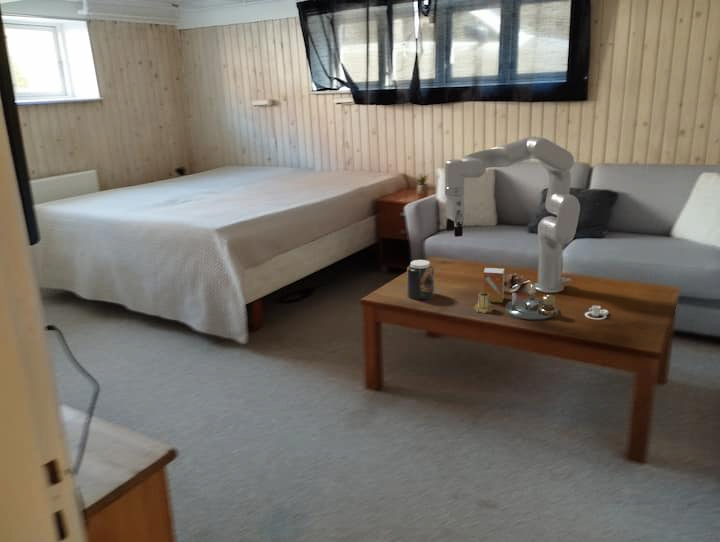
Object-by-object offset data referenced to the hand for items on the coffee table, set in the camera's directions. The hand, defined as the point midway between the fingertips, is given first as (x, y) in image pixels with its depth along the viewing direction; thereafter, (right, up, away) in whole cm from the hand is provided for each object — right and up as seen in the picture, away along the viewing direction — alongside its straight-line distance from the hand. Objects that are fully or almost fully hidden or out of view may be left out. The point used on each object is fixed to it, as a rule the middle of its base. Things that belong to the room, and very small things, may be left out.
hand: (454, 233), depth 242 cm
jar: (-12, -26, +18) cm, 34 cm away
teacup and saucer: (+55, -34, -14) cm, 66 cm away
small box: (+18, -27, +9) cm, 34 cm away
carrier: (+30, -31, -4) cm, 43 cm away
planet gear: (+12, -31, -1) cm, 33 cm away
